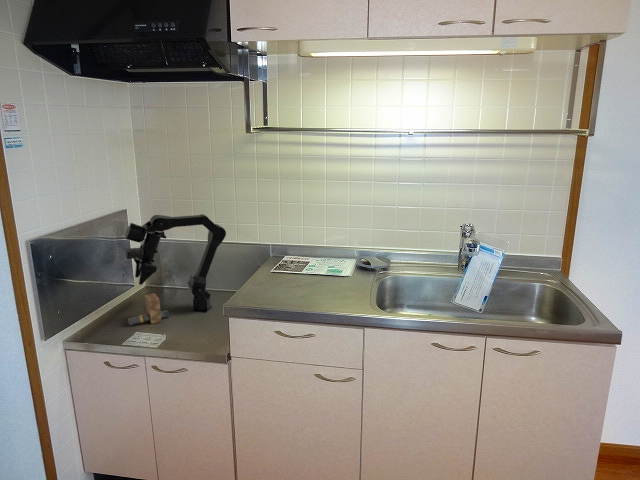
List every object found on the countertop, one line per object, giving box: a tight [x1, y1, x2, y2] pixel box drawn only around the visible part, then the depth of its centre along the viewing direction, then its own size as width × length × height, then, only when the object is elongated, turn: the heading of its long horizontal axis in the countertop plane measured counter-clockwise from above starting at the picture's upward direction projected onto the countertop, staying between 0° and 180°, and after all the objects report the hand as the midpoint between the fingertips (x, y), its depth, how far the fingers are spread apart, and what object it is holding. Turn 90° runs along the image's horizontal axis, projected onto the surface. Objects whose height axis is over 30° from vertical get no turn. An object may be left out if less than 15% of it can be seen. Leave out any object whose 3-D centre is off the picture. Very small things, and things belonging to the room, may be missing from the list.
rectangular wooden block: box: [144, 293, 162, 324], centre depth 199 cm, size 4×8×10 cm, turn 32°
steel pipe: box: [127, 309, 170, 326], centre depth 199 cm, size 16×3×3 cm, turn 122°
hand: (138, 280), depth 194 cm, fingers open, 9 cm apart
